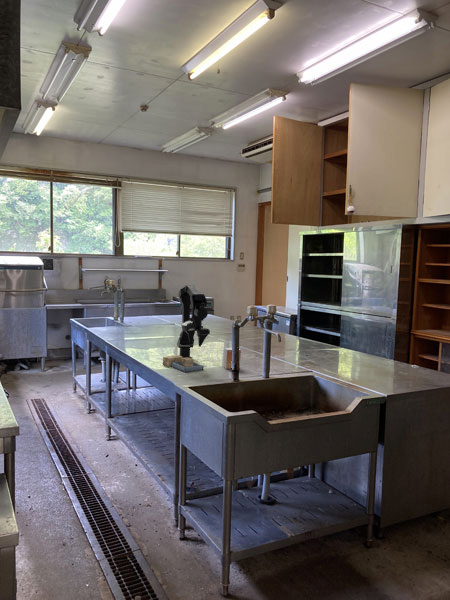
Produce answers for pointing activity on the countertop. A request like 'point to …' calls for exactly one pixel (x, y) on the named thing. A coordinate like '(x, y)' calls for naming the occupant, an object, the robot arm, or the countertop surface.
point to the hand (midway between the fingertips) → (195, 344)
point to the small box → (229, 357)
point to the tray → (186, 369)
